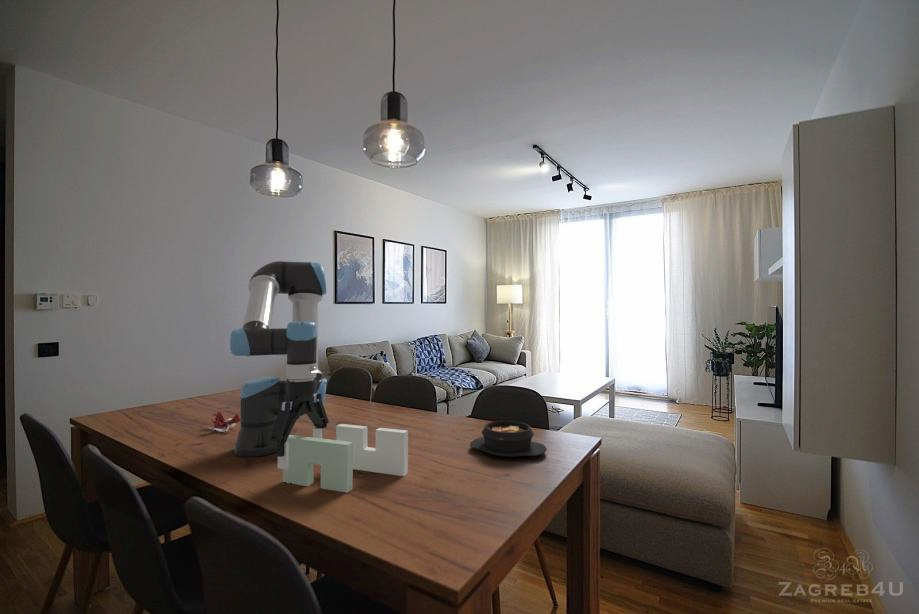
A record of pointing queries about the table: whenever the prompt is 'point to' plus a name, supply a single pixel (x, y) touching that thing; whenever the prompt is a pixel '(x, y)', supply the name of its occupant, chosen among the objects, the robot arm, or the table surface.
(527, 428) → the casserole
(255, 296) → the robot arm
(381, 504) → the table surface
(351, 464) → the green board
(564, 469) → the table surface
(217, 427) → the figurine
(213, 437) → the table surface
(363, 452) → the white board
